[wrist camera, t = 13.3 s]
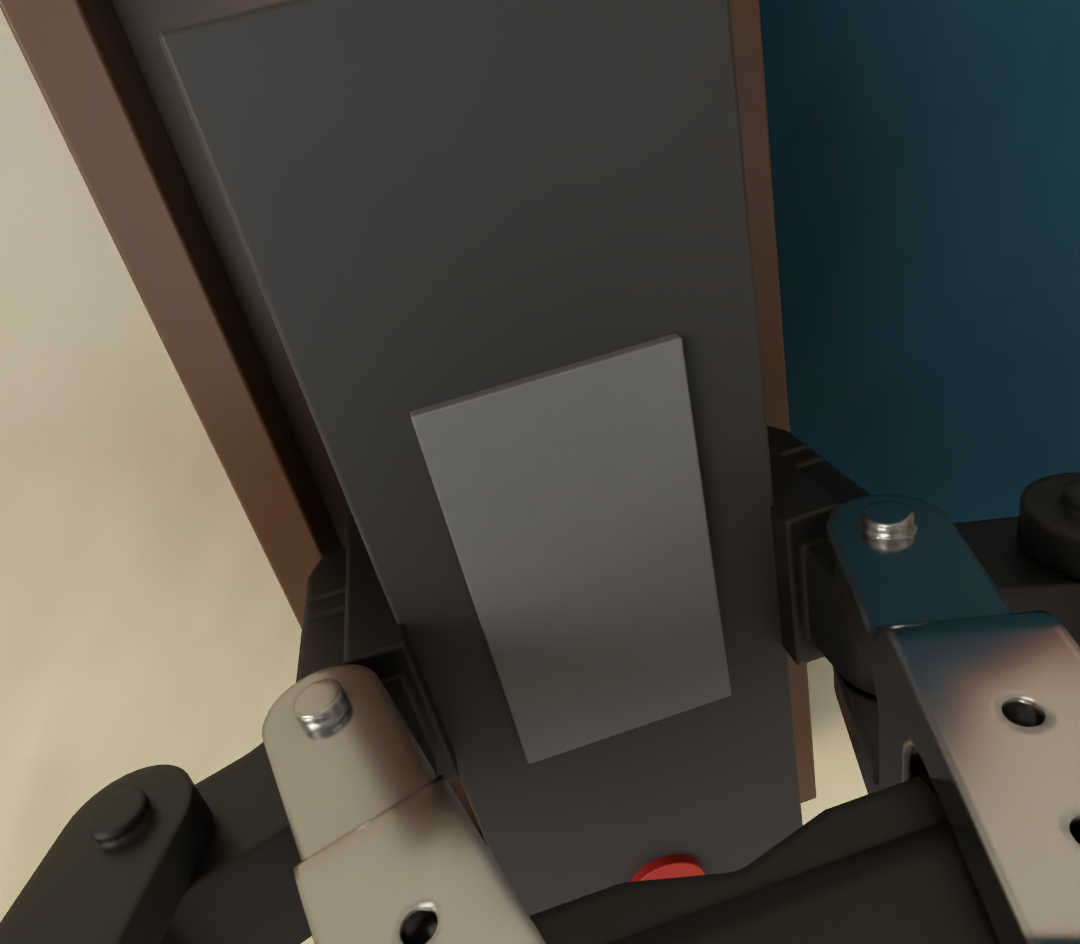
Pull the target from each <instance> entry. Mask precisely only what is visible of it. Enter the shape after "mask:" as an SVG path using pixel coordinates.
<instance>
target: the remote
mask: <svg viewBox="0 0 1080 944" xmlns="http://www.w3.org/2000/svg"><path fill="white" fill-rule="evenodd" d="M159 41H160V43H161V46H162V48H163V51H164V53H165V56H166V58H167V60H168V63H169V65H170V68H171V70H172V73H173V75H174V78H175V80H176V83H177V85H178V87H179V90H180V92H181V95H182V97H183V100H184V102H185V105H186V107H187V110H188V112H189V114H190V117H191V119H192V122H193V124H194V127H195V129H196V132H197V134H198V137H199V139H200V141H201V144H202V146H203V149H204V151H205V154H206V156H207V159H208V161H209V164H210V166H211V168H212V171H213V173H214V176H215V178H216V181H217V183H218V186H219V188H220V191H221V193H222V195H223V198H224V200H225V203H226V205H227V208H228V210H229V213H230V215H231V218H232V220H233V222H234V225H235V227H236V230H237V232H238V235H239V237H240V240H241V242H242V245H243V247H244V250H245V252H246V254H247V257H248V259H249V262H250V264H251V267H252V269H253V272H254V274H255V277H256V279H257V281H258V284H259V286H260V289H261V291H262V294H263V296H264V299H265V301H266V304H267V306H268V308H269V311H270V313H271V316H272V318H273V321H274V323H275V326H276V328H277V331H278V333H279V335H280V338H281V340H282V343H283V345H284V348H285V350H286V353H287V355H288V358H289V360H290V362H291V365H292V367H293V370H294V372H295V375H296V377H297V380H298V382H299V385H300V387H301V389H302V392H303V394H304V397H305V399H306V402H307V404H308V407H309V409H310V412H311V414H312V416H313V419H314V421H315V424H316V426H317V429H318V431H319V434H320V436H321V439H322V441H323V443H324V446H325V448H326V451H327V453H328V456H329V458H330V461H331V463H332V466H333V468H334V471H335V473H336V475H337V478H338V480H339V483H340V485H341V488H342V490H343V493H344V495H345V498H346V500H347V502H348V505H349V507H350V510H351V512H352V515H353V517H354V520H355V522H356V525H357V527H358V529H359V532H360V534H361V537H362V539H363V542H364V544H365V547H366V549H367V552H368V554H369V556H370V559H371V561H372V564H373V566H374V569H375V571H376V574H377V576H378V579H379V581H380V583H381V586H382V588H383V591H384V593H385V596H386V598H387V601H388V603H389V606H390V608H391V610H392V613H393V615H394V618H395V620H396V622H397V623H398V624H402V623H403V625H404V627H405V630H406V632H407V635H408V637H409V640H410V642H411V645H412V647H413V650H414V652H415V655H416V657H417V660H418V662H419V665H420V667H421V670H422V672H423V675H424V677H425V680H426V682H427V685H428V687H429V690H430V692H431V695H432V697H433V700H434V702H435V705H436V707H437V710H438V712H439V715H440V717H441V720H442V722H443V725H444V727H445V730H446V732H447V735H448V737H449V740H450V742H451V745H452V747H453V750H454V752H455V755H456V759H457V766H458V772H459V777H460V780H461V782H462V785H463V787H464V790H465V792H466V795H467V797H468V800H469V802H470V804H471V807H472V809H473V812H474V814H475V817H476V819H477V822H478V824H479V827H480V829H481V831H482V834H483V836H484V839H485V841H486V844H487V846H488V849H489V850H490V852H491V854H492V855H493V857H494V859H495V860H496V862H497V864H498V865H499V867H500V868H501V870H502V872H503V873H504V875H505V877H506V878H507V880H508V882H509V883H510V885H511V887H512V888H513V890H514V892H515V893H516V895H517V897H518V898H519V900H520V902H521V903H522V905H523V907H524V908H525V910H526V911H527V913H528V915H529V916H530V915H533V914H536V913H539V912H541V911H544V910H547V909H550V908H553V907H555V906H558V905H561V904H564V903H567V902H569V901H572V900H575V899H578V898H581V897H583V896H586V895H589V894H592V893H595V892H597V891H600V890H603V889H606V888H608V887H611V886H614V885H617V884H620V883H622V882H633V881H644V880H655V879H666V878H676V877H687V876H698V875H709V874H720V873H728V872H734V871H737V870H739V869H742V868H743V867H745V866H747V865H748V864H750V863H751V862H753V861H754V860H755V859H757V858H758V857H760V856H761V855H762V854H764V853H765V852H767V851H768V850H769V849H771V848H772V847H774V846H775V845H777V844H778V843H779V842H781V841H782V840H784V839H785V838H786V837H788V836H789V835H791V834H792V833H793V832H795V831H796V830H798V829H799V828H800V827H802V815H801V804H800V793H799V781H798V770H797V759H796V747H795V736H794V725H793V714H792V702H791V691H790V680H789V668H788V657H787V651H786V650H785V649H784V647H783V644H782V633H781V622H780V611H779V600H778V588H777V577H776V566H775V555H774V544H773V533H772V522H771V510H770V506H772V505H774V499H773V488H772V476H771V465H770V454H769V442H768V431H767V420H766V408H765V397H764V386H763V375H762V363H761V352H760V341H759V329H758V318H757V307H756V295H755V284H754V273H753V262H752V250H751V239H750V228H749V216H748V205H747V194H746V182H745V171H744V160H743V149H742V137H741V126H740V115H739V103H738V92H737V81H736V69H735V58H734V47H733V36H732V24H731V13H730V2H729V0H284V1H280V2H276V3H272V4H268V5H263V6H259V7H255V8H251V9H247V10H243V11H239V12H235V13H231V14H226V15H222V16H218V17H214V18H210V19H206V20H202V21H198V22H193V23H189V24H185V25H181V26H177V27H173V28H169V29H165V30H163V31H162V32H161V33H159Z"/></svg>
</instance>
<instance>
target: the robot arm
mask: <svg viewBox="0 0 1080 944" xmlns="http://www.w3.org/2000/svg"><path fill="white" fill-rule="evenodd" d="M767 431H768V442H769V454H770V465H771V476H772V488H773V499H774V505H772V506H770V510H771V522H772V533H773V544H774V555H775V566H776V577H777V588H778V600H779V611H780V622H781V633H782V644H783V647H784V649H785V650H786V651H787V653H788V654H789V655H790V656H791V658H792V659H793V660H794V662H795V663H796V664H797V665H801V664H804V663H807V662H810V661H813V660H816V659H818V658H821V657H824V656H825V657H826V658H827V659H828V660H829V662H830V663H831V664H832V665H833V671H834V688H835V693H836V697H837V700H838V703H839V706H840V709H841V712H842V715H843V718H844V721H845V724H846V727H847V730H848V733H849V737H850V740H851V743H852V746H853V749H854V752H855V755H856V758H857V761H858V764H859V767H860V770H861V773H862V776H863V779H864V783H865V786H866V789H867V792H868V795H866V796H863V797H860V798H857V799H854V800H852V801H849V802H846V803H843V804H840V805H838V806H835V807H832V808H829V809H826V810H824V811H823V812H822V813H820V814H819V815H817V816H816V817H815V818H813V819H812V820H810V821H809V822H808V823H806V824H805V825H803V826H802V827H800V828H799V829H798V830H796V831H795V832H793V833H792V834H791V835H789V836H788V837H786V838H785V839H784V840H782V841H781V842H779V843H778V844H777V845H775V846H774V847H772V848H771V849H769V850H768V851H767V852H765V853H764V854H762V855H761V856H760V857H758V858H757V859H755V860H754V861H753V862H751V863H750V864H748V865H747V866H745V867H743V868H742V869H739V870H737V871H734V872H728V873H720V874H709V875H698V876H687V877H676V878H666V879H655V880H644V881H633V882H622V883H620V884H617V885H614V886H611V887H608V888H606V889H603V890H600V891H597V892H595V893H592V894H589V895H586V896H583V897H581V898H578V899H575V900H572V901H569V902H567V903H564V904H561V905H558V906H555V907H553V908H550V909H547V910H544V911H541V912H539V913H536V914H533V915H530V916H529V915H528V913H527V911H526V910H525V908H524V907H523V905H522V903H521V902H520V900H519V898H518V897H517V895H516V893H515V892H514V890H513V888H512V887H511V885H510V883H509V882H508V880H507V878H506V877H505V875H504V873H503V872H502V870H501V868H500V867H499V865H498V864H497V862H496V860H495V859H494V857H493V855H492V854H491V852H490V850H489V849H488V847H487V845H486V844H485V842H484V840H483V839H482V837H481V835H480V834H479V832H478V830H477V829H476V827H475V826H474V824H473V822H472V821H471V819H470V817H469V816H468V814H467V812H466V811H465V809H464V807H463V806H462V804H461V802H460V801H459V799H458V797H457V796H456V794H455V792H454V791H453V789H452V788H451V786H450V784H449V782H452V781H455V780H457V779H459V772H458V766H457V759H456V755H455V752H454V750H453V747H452V745H451V742H450V740H449V737H448V735H447V732H446V730H445V727H444V725H443V722H442V720H441V717H440V715H439V712H438V710H437V707H436V705H435V702H434V700H433V697H432V695H431V692H430V690H429V687H428V685H427V682H426V680H425V677H424V675H423V672H422V670H421V667H420V665H419V662H418V660H417V657H416V655H415V652H414V650H413V647H412V645H411V642H410V640H409V637H408V635H407V632H406V630H405V627H404V625H403V623H402V624H398V623H397V622H396V620H395V618H394V615H393V613H392V610H391V608H390V606H389V603H388V601H387V598H386V596H385V593H384V591H383V588H382V586H381V583H380V581H379V579H378V576H377V574H376V571H375V569H374V566H373V564H372V561H371V559H370V556H369V554H368V552H367V549H366V547H365V544H364V542H363V539H362V537H361V534H360V532H359V529H358V527H357V525H356V522H355V520H354V517H353V515H352V514H350V515H348V521H347V548H346V549H343V550H339V551H336V552H333V553H330V554H326V555H323V557H322V558H321V560H320V561H319V563H318V564H317V565H316V567H315V568H314V570H313V571H312V573H311V574H310V576H309V577H308V580H307V589H306V598H305V601H306V605H305V607H304V617H303V620H304V623H303V626H302V635H301V644H300V653H299V662H298V671H297V680H296V683H295V684H294V685H293V686H291V687H290V688H289V689H288V690H286V691H285V692H284V693H283V694H282V695H281V696H280V697H279V698H278V699H277V701H276V702H275V703H274V704H273V706H272V707H271V709H270V710H269V712H268V714H267V716H266V718H265V721H264V724H263V729H262V737H263V743H262V744H260V745H259V746H258V747H256V748H255V749H254V750H252V751H251V752H250V753H248V754H247V755H245V756H243V757H242V758H240V759H239V760H237V761H235V762H234V763H232V764H230V765H228V766H227V767H225V768H223V769H221V770H220V771H218V772H216V773H215V774H213V775H211V776H209V777H208V778H206V779H204V780H202V781H201V782H199V783H197V784H196V785H195V784H194V783H193V781H192V780H191V778H190V777H189V775H188V774H187V773H186V772H185V771H184V770H183V769H181V768H179V767H176V766H172V765H155V766H150V767H146V768H143V769H139V770H136V771H134V772H132V773H129V774H127V775H125V776H123V777H121V778H119V779H118V780H116V781H114V782H112V783H111V784H109V785H108V786H106V787H105V788H103V789H102V790H101V791H99V792H98V793H97V794H96V795H94V796H93V797H92V798H91V799H90V800H89V801H87V802H86V803H85V804H84V805H83V806H82V807H81V808H80V809H79V810H78V811H77V812H76V814H75V815H74V816H73V817H72V818H71V820H70V821H69V822H68V824H67V825H66V826H65V828H64V829H63V831H62V832H61V834H60V835H59V836H58V838H57V839H56V841H55V842H54V844H53V845H52V847H51V848H50V850H49V851H48V853H47V854H46V856H45V857H44V859H43V860H42V862H41V863H40V865H39V866H38V868H37V869H36V871H35V872H34V874H33V875H32V877H31V878H30V879H29V881H28V882H27V884H26V885H25V887H24V888H23V890H22V891H21V893H20V894H19V896H18V897H17V899H16V900H15V902H14V903H13V905H12V906H11V908H10V909H9V911H8V912H7V914H6V915H5V917H4V918H3V920H2V921H1V922H0V944H301V943H302V942H303V941H305V940H306V939H308V938H309V937H311V936H312V937H313V940H314V943H315V944H1080V472H1079V473H1064V474H1056V475H1052V476H1047V477H1044V478H1041V479H1038V480H1036V481H1034V482H1032V483H1031V484H1030V485H1028V486H1027V487H1026V488H1025V489H1024V490H1023V492H1022V494H1021V498H1020V508H1019V517H1010V518H1000V519H991V520H981V521H971V522H958V523H952V521H951V520H950V518H949V517H948V516H947V515H946V513H945V512H944V511H942V510H941V509H940V508H938V507H937V506H935V505H933V504H931V503H929V502H927V501H924V500H921V499H918V498H914V497H910V496H904V495H895V494H878V495H870V494H869V493H867V492H866V491H865V490H863V489H862V488H861V487H860V486H858V485H857V484H856V483H854V482H853V481H852V480H850V479H849V478H848V477H846V476H845V475H844V474H843V473H841V472H840V471H839V470H837V469H836V468H835V467H833V466H832V465H831V464H829V463H828V462H827V461H826V460H825V461H822V459H821V457H820V456H819V455H818V454H816V453H815V452H814V451H812V450H811V449H810V448H809V449H807V448H806V445H805V444H803V443H802V442H801V441H799V440H798V439H797V438H795V437H794V436H793V435H792V434H790V433H789V432H788V431H785V430H782V429H779V428H775V427H772V426H769V425H767Z"/></svg>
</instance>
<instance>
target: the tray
mask: <svg viewBox="0 0 1080 944" xmlns="http://www.w3.org/2000/svg"><path fill="white" fill-rule="evenodd" d="M280 1H284V0H0V8H1V10H2V12H3V14H4V16H5V18H6V20H7V22H8V24H9V26H10V28H11V30H12V32H13V35H14V37H15V39H16V41H17V43H18V45H19V47H20V49H21V51H22V53H23V55H24V57H25V59H26V61H27V63H28V65H29V68H30V70H31V72H32V74H33V76H34V78H35V80H36V82H37V84H38V86H39V88H40V90H41V92H42V94H43V96H44V98H45V100H46V103H47V105H48V107H49V109H50V111H51V113H52V115H53V117H54V119H55V121H56V123H57V125H58V127H59V129H60V131H61V133H62V136H63V138H64V140H65V142H66V144H67V146H68V148H69V150H70V152H71V154H72V156H73V158H74V160H75V162H76V164H77V166H78V169H79V171H80V173H81V175H82V177H83V179H84V181H85V183H86V185H87V187H88V189H89V191H90V193H91V195H92V197H93V199H94V202H95V204H96V206H97V208H98V210H99V212H100V214H101V216H102V218H103V220H104V222H105V224H106V226H107V228H108V230H109V232H110V234H111V237H112V239H113V241H114V243H115V245H116V247H117V249H118V251H119V253H120V255H121V257H122V259H123V261H124V263H125V265H126V267H127V270H128V272H129V274H130V276H131V278H132V280H133V282H134V284H135V286H136V288H137V290H138V292H139V294H140V296H141V298H142V300H143V303H144V305H145V307H146V309H147V311H148V313H149V315H150V317H151V319H152V321H153V323H154V325H155V327H156V329H157V331H158V333H159V336H160V338H161V340H162V342H163V344H164V346H165V348H166V350H167V352H168V354H169V356H170V358H171V360H172V362H173V364H174V366H175V369H176V371H177V373H178V375H179V377H180V379H181V381H182V383H183V385H184V387H185V389H186V391H187V393H188V395H189V397H190V399H191V401H192V404H193V406H194V408H195V410H196V412H197V414H198V416H199V418H200V420H201V422H202V424H203V426H204V428H205V430H206V432H207V434H208V437H209V439H210V441H211V443H212V445H213V447H214V449H215V451H216V453H217V455H218V457H219V459H220V461H221V463H222V465H223V467H224V470H225V472H226V474H227V476H228V478H229V480H230V482H231V484H232V486H233V488H234V490H235V492H236V494H237V496H238V498H239V500H240V503H241V505H242V507H243V509H244V511H245V513H246V515H247V517H248V519H249V521H250V523H251V525H252V527H253V529H254V531H255V533H256V535H257V538H258V540H259V542H260V544H261V546H262V548H263V550H264V552H265V554H266V556H267V558H268V560H269V562H270V564H271V566H272V568H273V571H274V573H275V575H276V577H277V579H278V581H279V583H280V585H281V587H282V589H283V591H284V593H285V595H286V597H287V599H288V601H289V604H290V606H291V608H292V610H293V612H294V614H295V616H296V618H297V620H298V622H299V624H300V626H301V628H302V626H303V623H304V620H303V617H304V607H305V605H306V601H305V598H306V589H307V580H308V577H309V576H310V574H311V573H312V571H313V570H314V568H315V567H316V565H317V564H318V563H319V561H320V560H321V558H322V557H323V555H326V554H330V553H333V552H336V551H339V550H343V549H346V548H347V521H348V515H350V514H352V512H351V510H350V507H349V505H348V502H347V500H346V498H345V495H344V493H343V490H342V488H341V485H340V483H339V480H338V478H337V475H336V473H335V471H334V468H333V466H332V463H331V461H330V458H329V456H328V453H327V451H326V448H325V446H324V443H323V441H322V439H321V436H320V434H319V431H318V429H317V426H316V424H315V421H314V419H313V416H312V414H311V412H310V409H309V407H308V404H307V402H306V399H305V397H304V394H303V392H302V389H301V387H300V385H299V382H298V380H297V377H296V375H295V372H294V370H293V367H292V365H291V362H290V360H289V358H288V355H287V353H286V350H285V348H284V345H283V343H282V340H281V338H280V335H279V333H278V331H277V328H276V326H275V323H274V321H273V318H272V316H271V313H270V311H269V308H268V306H267V304H266V301H265V299H264V296H263V294H262V291H261V289H260V286H259V284H258V281H257V279H256V277H255V274H254V272H253V269H252V267H251V264H250V262H249V259H248V257H247V254H246V252H245V250H244V247H243V245H242V242H241V240H240V237H239V235H238V232H237V230H236V227H235V225H234V222H233V220H232V218H231V215H230V213H229V210H228V208H227V205H226V203H225V200H224V198H223V195H222V193H221V191H220V188H219V186H218V183H217V181H216V178H215V176H214V173H213V171H212V168H211V166H210V164H209V161H208V159H207V156H206V154H205V151H204V149H203V146H202V144H201V141H200V139H199V137H198V134H197V132H196V129H195V127H194V124H193V122H192V119H191V117H190V114H189V112H188V110H187V107H186V105H185V102H184V100H183V97H182V95H181V92H180V90H179V87H178V85H177V83H176V80H175V78H174V75H173V73H172V70H171V68H170V65H169V63H168V60H167V58H166V56H165V53H164V51H163V48H162V46H161V43H160V41H159V33H161V32H162V31H163V30H165V29H169V28H173V27H177V26H181V25H185V24H189V23H193V22H198V21H202V20H206V19H210V18H214V17H218V16H222V15H226V14H231V13H235V12H239V11H243V10H247V9H251V8H255V7H259V6H263V5H268V4H272V3H276V2H280ZM729 2H730V13H731V24H732V36H733V47H734V58H735V69H736V81H737V92H738V103H739V115H740V126H741V137H742V149H743V160H744V171H745V182H746V194H747V205H748V216H749V228H750V239H751V250H752V262H753V273H754V284H755V295H756V307H757V318H758V329H759V341H760V352H761V363H762V375H763V386H764V397H765V408H766V420H767V425H769V426H772V427H775V428H779V429H782V430H785V431H788V432H789V433H790V424H789V410H788V396H787V382H786V369H785V355H784V341H783V327H782V313H781V299H780V285H779V271H778V257H777V243H776V229H775V215H774V201H773V187H772V173H771V159H770V145H769V131H768V117H767V104H766V90H765V76H764V62H763V48H762V34H761V20H760V6H759V0H729ZM787 657H788V668H789V680H790V691H791V702H792V714H793V725H794V736H795V747H796V759H797V770H798V781H799V793H800V803H803V802H806V801H808V800H811V799H814V798H816V787H815V773H814V759H813V745H812V731H811V717H810V703H809V689H808V675H807V663H804V664H801V665H797V664H796V663H795V662H794V660H793V659H792V658H791V656H790V655H789V654H788V653H787ZM449 784H450V786H451V788H452V789H453V791H454V792H455V794H456V796H457V797H458V799H459V801H460V802H461V804H462V806H463V807H464V809H465V811H466V812H467V814H468V816H469V817H470V819H471V821H472V822H473V824H474V826H475V827H476V829H477V830H478V832H479V834H480V835H481V837H482V839H483V840H484V842H485V844H486V841H485V839H484V836H483V834H482V831H481V829H480V827H479V824H478V822H477V819H476V817H475V814H474V812H473V809H472V807H471V804H470V802H469V800H468V797H467V795H466V792H465V790H464V787H463V785H462V782H461V780H460V777H459V779H457V780H455V781H452V782H449ZM486 845H487V844H486ZM487 847H488V846H487Z"/></svg>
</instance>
